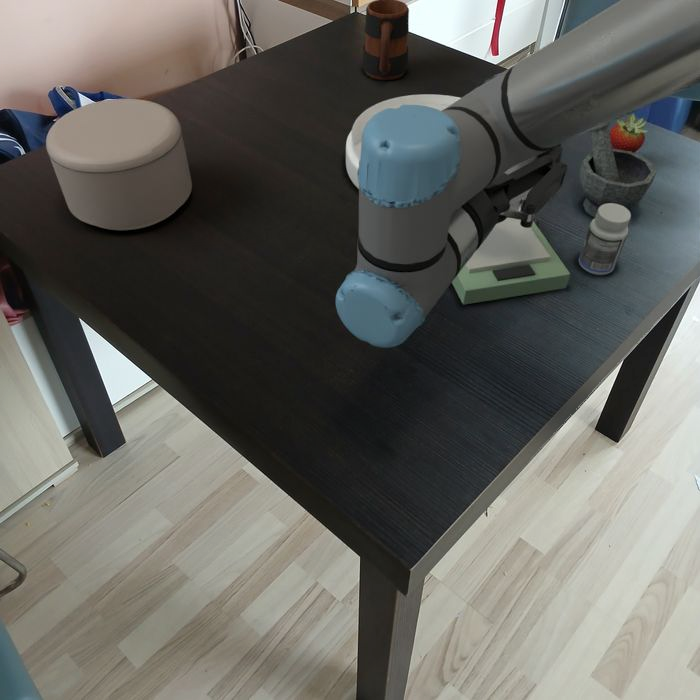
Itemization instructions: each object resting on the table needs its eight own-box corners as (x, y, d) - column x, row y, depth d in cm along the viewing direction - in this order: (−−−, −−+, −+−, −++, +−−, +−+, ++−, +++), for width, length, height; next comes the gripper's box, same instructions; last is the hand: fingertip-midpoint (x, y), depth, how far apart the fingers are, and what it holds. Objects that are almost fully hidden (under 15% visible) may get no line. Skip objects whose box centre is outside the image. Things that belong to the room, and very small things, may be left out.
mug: (359, 89, 122) (360, 23, 114) (364, 60, 130) (365, -3, 122) (406, 91, 122) (411, 24, 113) (407, 62, 130) (412, -2, 121)
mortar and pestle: (653, 212, 96) (683, 137, 88) (612, 236, 92) (639, 160, 84) (591, 178, 102) (614, 104, 94) (550, 199, 99) (570, 124, 90)
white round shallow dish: (393, 234, 93) (395, 201, 89) (319, 142, 109) (318, 111, 105) (553, 190, 100) (561, 158, 96) (461, 110, 117) (465, 80, 113)
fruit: (619, 176, 103) (635, 128, 97) (593, 160, 106) (607, 113, 100) (641, 166, 105) (659, 119, 99) (615, 151, 108) (630, 104, 102)
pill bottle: (591, 248, 91) (608, 196, 85) (621, 265, 88) (642, 212, 82) (570, 263, 89) (587, 211, 82) (601, 281, 86) (621, 228, 80)
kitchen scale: (566, 288, 85) (572, 269, 83) (462, 305, 83) (466, 286, 81) (519, 219, 95) (524, 201, 93) (426, 233, 93) (428, 214, 91)
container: (129, 154, 107) (109, 84, 98) (218, 186, 101) (206, 114, 92) (42, 212, 96) (12, 138, 87) (137, 252, 90) (114, 176, 81)
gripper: (361, 228, 72) (453, 135, 85) (530, 291, 65) (602, 180, 79) (362, 167, 67) (461, 78, 80) (547, 229, 60) (621, 121, 73)
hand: (530, 129), depth 79 cm, fingers closed on can, 6 cm apart
